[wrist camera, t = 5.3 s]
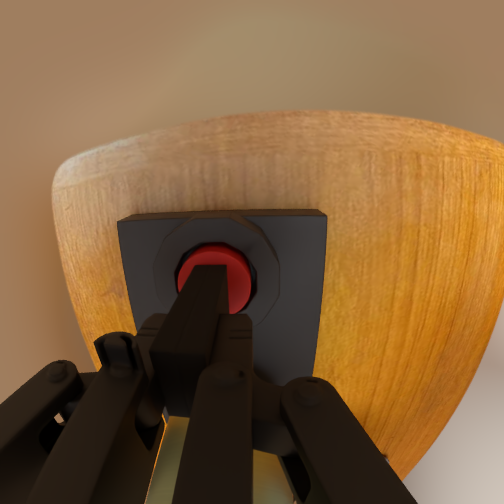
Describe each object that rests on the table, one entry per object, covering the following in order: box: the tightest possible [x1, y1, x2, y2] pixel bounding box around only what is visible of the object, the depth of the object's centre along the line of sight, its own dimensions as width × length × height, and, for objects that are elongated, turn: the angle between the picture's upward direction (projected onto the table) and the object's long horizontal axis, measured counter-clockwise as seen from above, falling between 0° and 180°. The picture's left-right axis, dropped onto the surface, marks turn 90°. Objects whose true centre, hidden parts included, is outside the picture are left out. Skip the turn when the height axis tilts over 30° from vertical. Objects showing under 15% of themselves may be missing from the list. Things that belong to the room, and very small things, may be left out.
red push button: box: [178, 242, 251, 314], centre depth 14 cm, size 4×4×2 cm
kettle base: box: [117, 209, 327, 423], centre depth 17 cm, size 18×12×4 cm, turn 1°
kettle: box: [146, 416, 293, 504], centre depth 10 cm, size 9×9×13 cm
